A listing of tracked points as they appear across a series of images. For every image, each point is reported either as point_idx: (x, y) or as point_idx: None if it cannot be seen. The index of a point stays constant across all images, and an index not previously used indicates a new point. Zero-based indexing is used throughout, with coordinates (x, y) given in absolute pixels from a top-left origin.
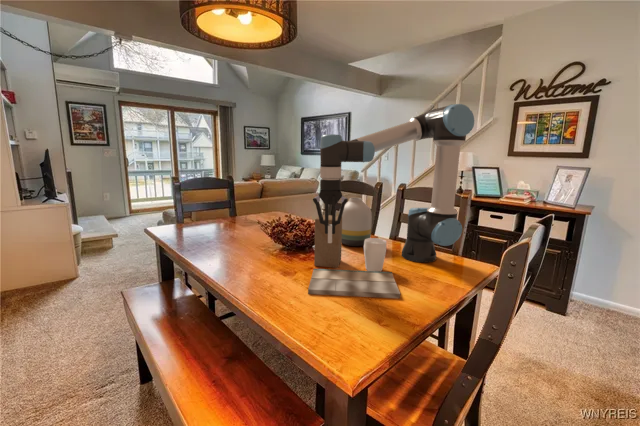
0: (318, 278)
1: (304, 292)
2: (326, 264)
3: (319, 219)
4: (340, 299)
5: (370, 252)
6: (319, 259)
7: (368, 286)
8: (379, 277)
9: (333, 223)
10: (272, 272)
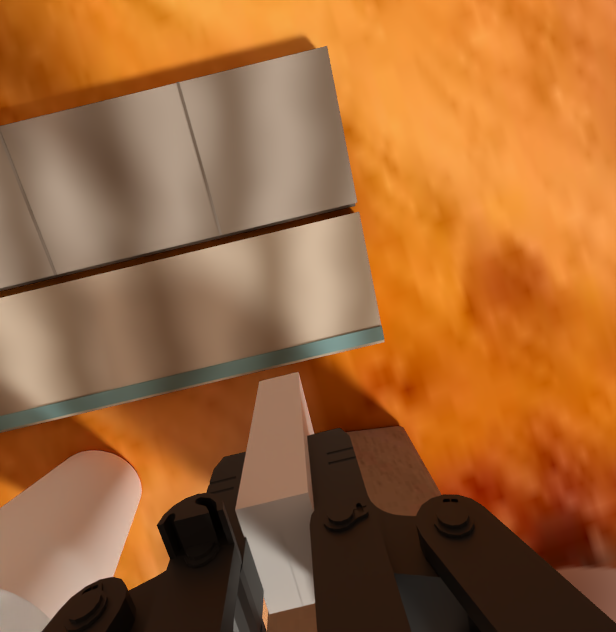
0: (319, 221)
1: (348, 70)
2: None
3: (541, 563)
4: (144, 50)
5: (34, 519)
6: (384, 448)
7: (25, 205)
8: (8, 347)
9: (198, 561)
10: (588, 266)
